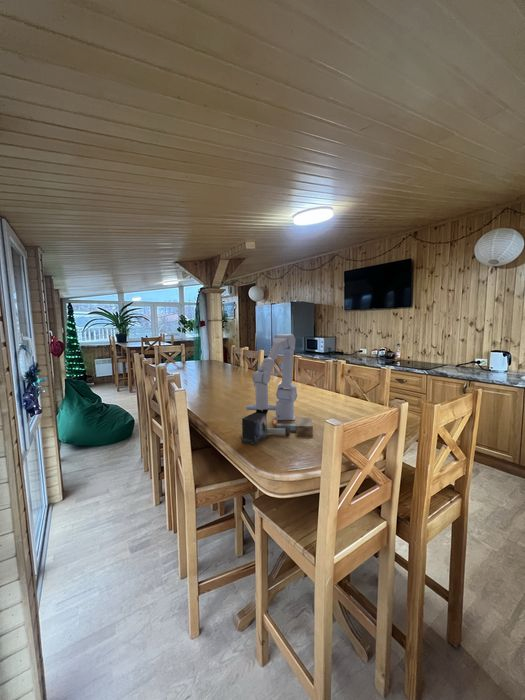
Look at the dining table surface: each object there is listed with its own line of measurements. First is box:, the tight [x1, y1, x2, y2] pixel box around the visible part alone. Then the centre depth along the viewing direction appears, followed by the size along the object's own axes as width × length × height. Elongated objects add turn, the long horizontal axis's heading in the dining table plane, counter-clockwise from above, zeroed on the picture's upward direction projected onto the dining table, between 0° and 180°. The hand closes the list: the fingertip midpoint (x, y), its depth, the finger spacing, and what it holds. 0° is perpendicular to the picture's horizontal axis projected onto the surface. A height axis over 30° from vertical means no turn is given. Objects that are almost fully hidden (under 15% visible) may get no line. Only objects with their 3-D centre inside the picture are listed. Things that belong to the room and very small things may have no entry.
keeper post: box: [285, 426, 291, 437], centre depth 137 cm, size 2×2×4 cm
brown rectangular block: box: [272, 418, 297, 432], centre depth 143 cm, size 12×6×4 cm, turn 84°
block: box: [296, 417, 314, 436], centre depth 142 cm, size 7×12×4 cm, turn 174°
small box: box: [241, 411, 268, 446], centre depth 132 cm, size 11×6×10 cm, turn 148°
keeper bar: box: [267, 427, 286, 435], centre depth 137 cm, size 8×1×2 cm, turn 84°
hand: (262, 425), depth 144 cm, fingers closed
